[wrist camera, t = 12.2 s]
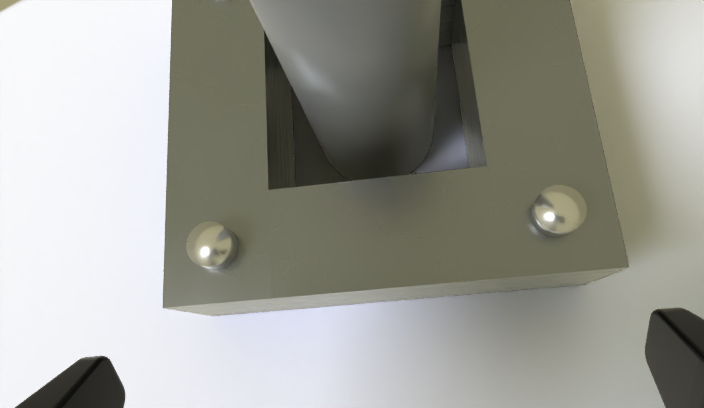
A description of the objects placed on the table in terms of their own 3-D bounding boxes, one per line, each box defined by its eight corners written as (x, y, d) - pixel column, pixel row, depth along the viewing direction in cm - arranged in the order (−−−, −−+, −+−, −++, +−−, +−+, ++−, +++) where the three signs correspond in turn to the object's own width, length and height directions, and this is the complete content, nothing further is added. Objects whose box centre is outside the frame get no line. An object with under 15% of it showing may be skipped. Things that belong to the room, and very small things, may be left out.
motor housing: (585, 284, 16) (639, 263, 12) (213, 316, 17) (151, 306, 13) (522, -37, 19) (547, -134, 15) (214, 9, 21) (165, -71, 17)
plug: (456, 109, 18) (534, -415, 6) (396, 206, 17) (337, -145, 5) (357, 61, 19) (241, -472, 7) (297, 151, 18) (44, -255, 6)
